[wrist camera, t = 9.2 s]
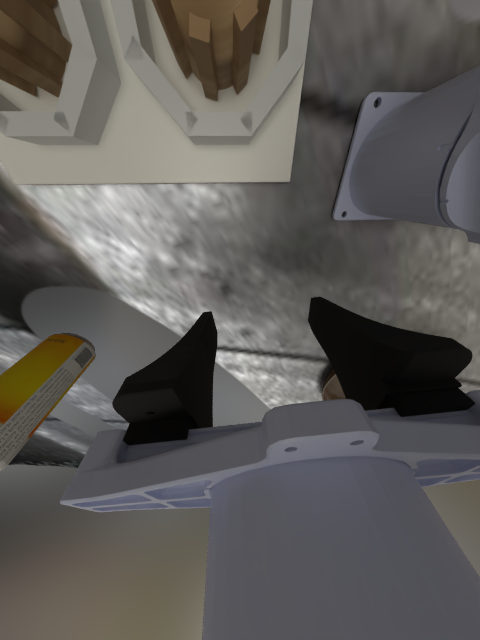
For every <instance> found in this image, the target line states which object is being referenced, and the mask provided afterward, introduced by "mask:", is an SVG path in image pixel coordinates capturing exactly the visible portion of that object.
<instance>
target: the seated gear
mask: <svg viewBox="0 0 480 640" xmlns="http://www.w3.org/2000/svg"><path fill="white" fill-rule="evenodd" d="M57 2H58V1H57V0H0V80H2V81H5V82H7V83H9V84H11V85H13V86H15V87H17V88H19V89H21V90H23V91H25V92H27V93H29V94H31V95H33V96H35V97H37V96H36V90H35V86H38V87H40V88H41V89H43V90H45V91H47V92H49V93H51V94H52V95H54V96H56V97H59V96H60V92H61V88H62V84H63V83H62V81H61V79H62V77H63V75H64V72H65V67H66V62H68V61H69V57H70V53H71V49H72V44H71V43H70V42H69V41H68V40H67V39H65V38H64V37H63V35H62V32H61V29H60V26H59V23H58V20H57V18H56V15H55V13H54V11H53V9H52V6H53V5H54V4H55V3H57Z"/></svg>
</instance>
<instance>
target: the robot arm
mask: <svg viewBox="0 0 480 640" xmlns="http://www.w3.org/2000/svg"><path fill="white" fill-rule="evenodd" d="M375 100H377V101H378V105H377V107H376V108H375V107H374V102H375ZM343 212H345V215H344V216H343V217H342V216H341V215H342V213H343ZM332 218H333V219H334V220H390V219H399V220H405V221H411V222H417V223H423V224H429V225H436V226H442V227H448V228H454V229H460V230H462V231H464V232H465V233H466V234H467V236H468V241H469V242H473V243H478V244H480V65H478V66H476V67H474V68H472V69H470V70H468V71H466V72H464V73H462V74H460V75H458V76H456V77H454V78H452V79H450V80H448V81H447V82H445V83H443V84H441V85H439V86H437V87H435V88H433V89H431V90H429V91H427V92H372V93H370V94H368V95H367V96H366V97H365V98H364V100H363V102H362V104H361V108H360V112H359V116H358V119H357V123H356V127H355V131H354V134H353V138H352V142H351V146H350V150H349V153H348V157H347V161H346V165H345V168H344V172H343V176H342V180H341V184H340V187H339V191H338V195H337V199H336V203H335V206H334V210H333V214H332ZM308 322H309V324H310V327H311V329H312V332H313V333H314V335H315V337H316V339H317V340H318V342H319V344H320V345H321V347H322V348H323V350H324V352H325V353H326V355H327V357H328V359H329V360H330V362H331V364H332V367H333V369H334V371H335V373H336V376H337V378H338V380H339V383H340V385H341V387H342V390H343V392H344V395H345V398H346V399H335V400H325V401H316V402H307V403H298V404H289V405H283V406H279V407H275V408H273V409H271V410H269V411H268V412H266V413H265V415H264V417H263V419H262V422H256V423H247V424H237V425H228V426H218V427H213V417H212V404H213V402H212V400H213V372H214V364H215V357H216V350H217V329H216V326H215V322H214V318H213V315H212V311H210V312H203V313H202V315H201V316H200V317H199V319H198V320H197V321H196V322H195V324H194V325H193V326H192V328H191V329H190V330H189V331H188V332H187V333H186V334H185V336H184V337H183V338H182V339H181V340H180V341H179V342H178V343H177V344H176V345H174V346H173V347H172V348H171V349H170V350H169V351H167V352H166V353H165V354H163V355H162V356H161V357H160V358H158V359H157V360H155V361H154V362H152V363H151V364H149V365H148V366H146V367H145V368H143V369H141V370H139V371H138V372H136V373H135V374H132V375H131V376H129V377H127V378H126V379H125V381H124V382H123V384H122V386H121V388H120V390H119V391H118V393H117V395H116V397H115V399H114V400H113V403H112V404H113V408H114V409H115V411H116V412H117V413H118V414H119V415H121V416H122V417H123V418H124V419H125V420H126V421H128V422H129V423H130V424H129V427H128V429H127V431H126V430H123V429H116V430H107V431H100V432H98V433H97V435H96V437H95V438H94V440H93V442H92V444H91V446H90V447H89V449H88V451H87V453H86V455H85V457H84V458H83V460H82V462H81V464H80V466H79V467H78V470H77V471H76V473H75V475H74V476H73V478H72V480H71V482H70V484H69V486H68V487H67V489H66V491H65V493H64V495H63V496H62V498H61V500H60V504H63V505H68V506H72V507H77V508H82V509H86V510H91V511H95V512H110V511H124V510H143V509H170V508H171V509H172V508H201V507H203V508H204V507H205V508H206V507H210V521H209V536H208V552H207V554H208V555H207V568H206V584H205V601H204V616H203V632H202V640H480V577H479V575H478V574H477V572H476V571H475V569H474V568H473V566H472V565H471V563H470V561H469V560H468V558H467V557H466V555H465V554H464V552H463V551H462V549H461V548H460V546H459V545H458V543H457V541H456V540H455V538H454V537H453V535H452V534H451V532H450V531H449V529H448V528H447V526H446V524H445V523H444V521H443V520H442V518H441V517H440V515H439V514H438V512H437V510H436V509H435V507H434V506H433V504H432V503H431V501H430V500H429V499H428V497H427V495H426V494H425V492H424V491H423V489H422V487H428V486H435V485H442V484H449V483H455V482H463V481H471V480H478V479H480V390H475V391H470V392H468V393H466V394H465V393H464V392H462V391H461V390H460V389H459V388H458V387H461V386H462V385H461V383H460V382H458V381H457V380H456V379H455V377H456V376H457V375H458V374H459V373H460V372H461V371H462V370H463V369H464V368H465V367H467V365H468V364H469V363H470V362H471V359H472V352H471V351H470V350H469V349H467V348H466V347H464V346H463V345H461V344H460V343H458V342H457V341H455V340H454V339H452V338H446V337H440V336H434V335H428V334H422V333H418V332H413V331H408V330H404V329H400V328H396V327H392V326H389V325H385V324H382V323H379V322H376V321H373V320H370V319H367V318H365V317H362V316H360V315H357V314H355V313H353V312H351V311H348V310H346V309H344V308H342V307H340V306H338V305H336V304H334V303H332V302H330V301H328V300H326V299H324V298H322V297H314V298H311V303H310V310H309V317H308Z"/></svg>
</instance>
